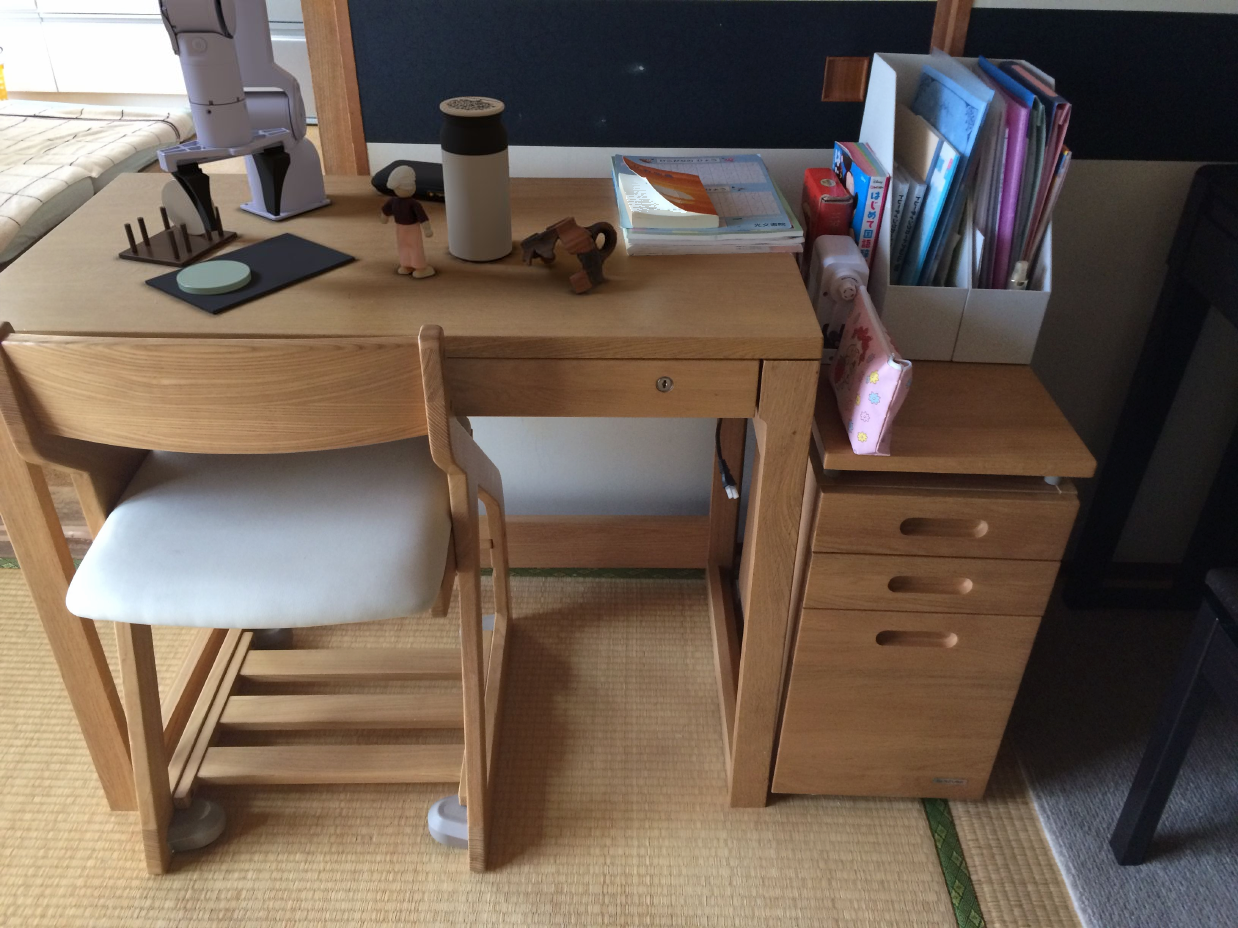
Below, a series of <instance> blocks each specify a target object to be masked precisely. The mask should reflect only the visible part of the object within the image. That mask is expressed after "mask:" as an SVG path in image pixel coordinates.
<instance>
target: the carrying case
mask: <svg viewBox="0 0 1238 928" xmlns="http://www.w3.org/2000/svg"><path fill="white" fill-rule="evenodd" d="M400 166H408V167H411V168H412V169H413V170H414V172H415V175H416V176H415V179H416V180H414V181H415V185H416V190H415V192H414V194H413V195H412V196H411V197H412V198H420V199H422V198H423V199H431V200H440V201H445V190H444V178H443V165H442V162H441V163H439V162H433V161H432V162H431V161H420V160H411V159H397V160H393V161H392V162H391V163H389V164H387V165H386V166H384V167H383V168H381V169H380V170H378V171H377V172H375V174H374V176H372V178H371V180H370V184H371V185H372V187H373V188H374V189H375V190H376V191H377V193H382V194H387V195H395V196H396V195H397V194H396V193H395V191H394V190H393V189H390V188H388V187H387V182H388V178H389V177H390V174H391V173H392V172H393V171H394V170H395V169H396V168H398V167H400ZM397 196H398V195H397Z"/></svg>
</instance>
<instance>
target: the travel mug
mask: <svg viewBox="0 0 1238 928" xmlns="http://www.w3.org/2000/svg"><path fill="white" fill-rule="evenodd" d="M439 109H440V110H441V112H442V114H443V115H442V116H443V119H444V122H443V124H442V127H441V129H440V132H439V139H440V151H441V153H440V154H441V163H442V165H443V178H444V190H445V200H444V202H445V213H446V214H445V215H446V226H447V237H448V238H447V239H448V249H449V253H451V255H453V256H455V257H457V258H460V259H462V260H465V261H469V262H489V261H496V260H498V259H501V258H503V257H505V256H507V255H508V254H510V253H511V252H512V251H513V234H512V233H513V232H512V209H511V207H512V205H511V185H510V183H511V182H510V159H509V135H508V133H509V132H508V131H507V129H506V127H505V124H504V123H503V122H502V117H503V114H502V113H503V111H504V109H505V104H504V102H502V101H501V100H498V99H496V98H492V97H486V96H460V97H453V98H450V99H446V100H444V101H442V102H441V103H440V104H439Z"/></svg>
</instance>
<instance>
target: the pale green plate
mask: <svg viewBox="0 0 1238 928" xmlns="http://www.w3.org/2000/svg"><path fill="white" fill-rule="evenodd" d="M198 263H199V262H198ZM195 264H196V263H195ZM192 265H193V264H192ZM189 266H190V265H189ZM250 280H251V272H250V268H249V267H248V266H247V265H245V264H243V263H240V262H236V261H225V260H222V261H209V262H204V263H199V264H196V265H193V266H190V267H188V268H186V269H184V270H182V271H181V272H180V273H179V274H178V275H177V283H178V286H179V288H180V289H181V290H183V291H184V292H187V293H191V294H198V295H212V294H221V293H226V292H230V291H233V290H236V289H239V288H241V287H243V286H245V285H246V284H247V283H249V281H250Z"/></svg>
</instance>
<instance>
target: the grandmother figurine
mask: <svg viewBox="0 0 1238 928" xmlns="http://www.w3.org/2000/svg"><path fill="white" fill-rule="evenodd" d="M415 176H416V175H415V172H414V170H413V169H412V168H411V167H408V166H400V167H398V168H396V169H395V170H394V171H393V172H392V173H391V174H390V177H389V178H388V182H387V187H388V188H390V189H393V190H394V191H395V193H396V194H397V196H396V195H395V196H393V197H390V198H389V199H388V200H386V201H385V202H384V204H383V205H382V206H381V208H380V210H381V213H380V215H381V216H380V217H379V221H380V224H383V225H387V224H388V223H389V222H390V217H392V216H393V219H394V223H395V225H396V226H395V230H396V231H395V232H396V234H395V235H396V245H397V251H398V258H399V264H400V266H399V268H398V269H397V273H398V274H400V275H409V274H411V273H412V277H413V278H416V279H421V278H426V277H430V276H433V275H434V274H435V270H434V268H433V267H432V266H430V265H428V264H427V259H426V255H425V249H424V240H423V235H424V237H425V238H427V239H430V238H432V237H433V236H434V231H433V230H432V226H431V223H430V218H429V216H428V214H427V213H426V211H425V208H424V207H423V205H422V203H421V202H420V201H418V200H416V199H415V198H414V197H412V195H413V194H414V192H415V190H416V185H415V181H414V180H416V179H415Z"/></svg>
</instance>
